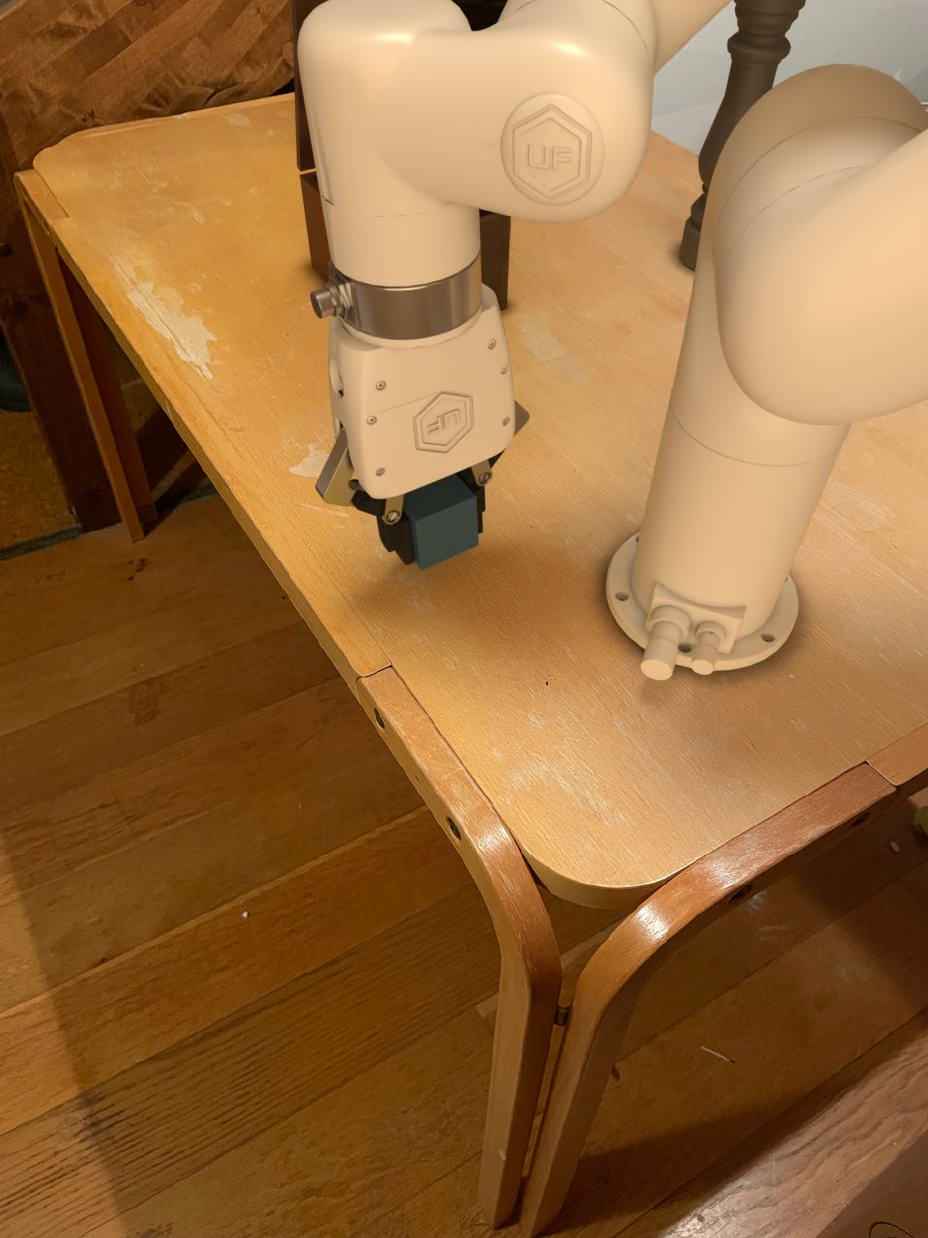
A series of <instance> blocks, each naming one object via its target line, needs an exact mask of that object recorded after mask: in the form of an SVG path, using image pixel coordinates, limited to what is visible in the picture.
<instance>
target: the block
mask: <svg viewBox="0 0 928 1238" xmlns="http://www.w3.org/2000/svg"><path fill="white" fill-rule="evenodd" d="M402 510H403V511H404V513H405V514H406V515H407V516H408V518H409V519H410V522H411V529H412V536H413V544H414V552H415V560H414V563H415V565H416V566H417V567H418V569H419V570H420V571H424V570H427V569H429V568H432V567H433V566H436V565H438V564H441V563H442V562H445V561H447V560H449V559H451V558H454V557H456V556H458V555H460V554H463V553H464V552H468V551H469V550H471V549H473V548H476V547H479V545H480V543H479V542H480V541H479V534H478V518H477V497H476V495H475V494H474V493H473V492H472V491H471V490H470V489H469V488H468V486H467V485H466V484H465V483H464V482H463V481H462V480H461V479H460V477H459V476H458V475H457V474H456V473H454V474H451V475H449V476H447V477H444V478H442V479H439V480H437V481H434V482H432V483H429V484H427V485H424V486H422V487H420V488H417V489H415V490H412V491H410V492H407V493H405V494H404V502H403V509H402Z"/></svg>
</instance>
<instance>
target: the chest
mask: <svg viewBox="0 0 928 1238" xmlns="http://www.w3.org/2000/svg"><path fill="white" fill-rule="evenodd" d="M299 182H300V189H301V197H302V203H303V210H304V211H303V212H304V218H305V226H306V227H305V228H306V233H307V234H306V235H307V240H308V247H309V256H310V264H311V268H312V269H313V270H314V271H315V272H316V273H317V274H318V275H319V277H320V278H321V279H322V281H324V282H325V284H327V283H328V281H329V276H330V275H329V269H328V262H329V261H331V256H330V250H329V244H328V238H327V232H326V226H325V220H324V214H323V209H322V203H321V197H320V191H319V185H318V179H317V173H316V170H312V171H309V172H305V173H301V174H299ZM479 222H480V246H481V275H482V283H483V284H484V285H486V286H488V287H489V288H490V289H492V290H493V292H494V293H495V294H496V297H497V301H498V304H499V308H500V311H503V310H506V309H508V291H509V268H510V248H511V247H510V245H511V228H512V226H511V225H512V223H511V222H512V217H510V216H506V215H502V214H498V213H495V212H491V211H487V210H483V209H479Z"/></svg>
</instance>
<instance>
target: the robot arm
mask: <svg viewBox="0 0 928 1238" xmlns="http://www.w3.org/2000/svg"><path fill="white" fill-rule="evenodd" d="M732 1H733V0H507V1H506V3H505V5H504V7H503V10H502V11H501V13H500V16H499V18H498V20H497V22H496V23H495V24H492V25H491V26H489V27H487V28H484V29H481V30H472V29H471V26H470V23H469V20H468V18H467V17H466V15H465V14H464V12H463V11H462V9H461V7H460V6H459V5H458V4H456V3H455V2H454V1H453V0H328V1H326V2H324V3H322V4H321V5H319V6H318V7H316V8H315V9H314V10H313V11H312V12H311V13H310V14H309V15H308V17H307V18H306V19H305V20H304V22H303V25H302V27H301V30H300V33H299V38H298V44H297V55H298V63H299V71H300V79H301V85H302V90H303V96H304V102H305V108H306V114H307V120H308V126H309V132H310V138H311V144H312V149H313V155H314V161H315V167H316V168H315V171H316V173H317V179H318V185H319V191H320V197H321V203H322V209H323V214H324V220H325V226H326V232H327V238H328V244H329V250H330V256H331V261H329V262H328V269H329V275H330V276H329V281H328V283H324V284H323V285H322V287H321V288H319V289H316V290H312V291H310V293H309V299H310V303H311V307H312V309H313V312H314V313H315V316H316V317H317V318H318V319H320V320H321V319H324V318H327V317H330V321H329V328H328V329H329V331H328V345H327V346H328V349H327V350H328V351H327V352H328V353H327V359H328V363H327V366H328V367H327V368H328V369H327V370H328V371H327V372H328V388H329V389H328V391H329V400H330V409H331V416H332V417H331V419H332V426H333V433H334V438H335V443H334V445H333V447H332V448H331V451H330V453H329V455H328V457H327V460H326V462H325V463H324V465H323V468H322V470H321V472H320V474H319V476H318V478H317V481H316V482H315V485H314V488H315V491H316V492H317V494H318V495H319V496H320V498H321V499H322V501H323V502H324V503H325V504H329V505H335V506H339V507H340V506H341V507H347V508H348V507H353V508H355V509H356V510H357V511H359V512H362V513H366V514H368V515H371V516H374V517H375V518H376V523H377V530H378V536H379V539H380V542H381V544H382V546H383V547H384V549H385V550H386V551H387V553H389V554H390V553H392V552H395V553H396V555H397V557H399V559H400V560H401V562H402V563H403V564H404V565H405V567H407V566H410V565H412V564H414V563H415V562H414V560H415V552H414V544H413V536H412V529H411V522H410V519H409V518H408V516H407V515H406V514H405V513H404V511H403V510H402V509H403V502H404V494H405V493H407V492H410V491H412V490H415V489H417V488H420V487H422V486H424V485H427V484H429V483H432V482H434V481H437V480H439V479H442V478H444V477H447V476H449V475H451V474H454V473H456V474H457V475H458V476H459V477H460V479H461V480H462V481H463V482H464V483H465V484H466V485H467V486H468V488H469V489H470V490H471V491H472V492H473V493H474V494H475V495H476V497H477V518H478V535H480V534H482V533H484V521H483V518H484V517H483V513H485V512H486V510H487V508H486V485H488V484H489V483H490V482H491V481H492V479H493V476H494V475H493V471H492V469H493V468H494V466H495V464H496V463H497V462H498V460H499V459H500V458H501V456H502V455H503V454H504V452H505V451H506V449H507V448H508V447H509V446H510V445H511V444H512V442H513V440H514V438H515V436H516V435H517V434H518V433H519V432H520V431H521V430H522V429H523V427H524V426H525V425H526V424H528V422H529V420H530V418H531V417H530V413H529V412H528V410H526V409H525V408H524V406H522V405H521V403H519V402H518V401H517V400H516V399H515V390H514V380H513V379H514V378H513V371H512V363H511V355H510V350H509V349H510V348H509V345H508V339H507V334H506V329H505V325H504V321H503V315H502V313H501V310H500V308H499V304H498V301H497V297H496V294H495V293H494V292H493V290H492V289H490V288H489V287H488V286H486V285H484V284H483V283H482V275H481V246H480V222H479V209H483V210H487V211H491V212H495V213H498V214H502V215H506V216H510V217H511V218H515V219H520V220H525V221H529V222H536V223H544V224H569V223H575V222H580V221H584V220H588V219H591V218H593V217H595V216H598V215H600V214H602V213H603V212H605V211H606V210H608V209H610V208H611V207H613V206H614V205H615V204H616V203H617V202H618V201H620V200H621V198H623V196H625V194H626V193H627V192H628V190H630V188H631V187H632V185H633V184H634V182H635V180H637V179H636V178H637V177H638V175H639V174H640V171H641V169H642V166H643V164H644V162H645V159H646V154H647V151H648V147H649V143H650V137H651V130H652V118H653V103H654V87H655V76H656V75H657V74H658V73H659V72H660V71H661V70H662V68H663V67H664V66H666V64H667V63H668V62H670V61H671V59H673V58H674V56H675V55H677V54H678V53H679V52H680V51H681V50H682V49H683V48H684V47H685V46H686V45H687V44H688V43H689V42H690V41H691V40H692V39H693V38H694V37H695V36H696V35H697V34H698V33H699V32H700V31H701V30H702V29H704V28H705V27H706V26H707V25H708V24H709V23H710V22H711V21H712V20H713V19H714V18H715V17H716V16H717V15H719V13H720V12H722V11H723V10H724V9H725V8H726V7H728V5H729V4H731V2H732ZM693 276H694V277H693V281H692V286H691V287H692V288H691V294H690V300H689V303H688V304H689V305H688V311H687V316H686V321H685V326H684V332H683V336H682V342H681V346H680V350H679V355H678V360H677V364H676V370H675V374H674V378H673V383H672V388H671V391H670V396H669V400H668V405H667V409H666V414H665V418H664V424H663V426H662V431H661V436H660V440H659V445H658V450H657V455H656V459H655V463H654V468H653V471H652V472H653V473H652V478H651V482H650V487H649V490H648V494H647V495H648V496H647V500H646V505H645V508H644V513H643V518H642V522H641V527H640V530H639V531H638V532H636V533H635V534H633V535H631V536H629V538H628V539H626V540H625V541H624V542H623V543H622V544H621V545H620V546H619V547H618V548H617V550H616V551H615V553H614V554H613V556H612V558H611V560H610V562H609V565H608V568H607V572H606V573H607V574H606V579H605V598H606V601H607V605H608V608H609V611H610V612H611V614H612V616H613V618H614V619H615V622H616V624H617V625H618V626H619V627H620V628H621V630H622V631H623V632H624V633H625V635H626V636H627V637H628V638H630V639H631V640H632V641H633V642H634V643H636V644H637V645H638V646H639V647H640V648H642V649H643V650H644V654H643V656H642V660H641V664H640V666H639V668H640V670H641V673H642V674H643V675H644V676H646V677H647V678H649V679H652V680H655V681H665V680H668V679H670V678H671V676H673V673H674V671H675V670H674V669H675V666H676V665H677V666H681V667H686V668H688V669H692V671H693V672H695V673H697V674H698V675H703V676H706V675H710V674H712V673H713V672H714V671H715V672H717V671H732V670H733V671H734V670H737V669H743V668H747V667H750V666H753V665H755V664H758V663H760V662H762V661H764V660H766V659H768V658H769V657H770V656H772V655H773V654H774V653H776V652H777V651H779V649H780V648H781V647H782V646H783V645H784V644H785V643H786V642H787V640H788V638H789V636H790V634H791V633H792V631H793V628H794V626H795V624H796V621H797V618H798V615H799V601H800V600H799V595H798V590H797V586H796V584H795V582H794V579H793V577H792V575H791V573H790V570H791V568H792V566H793V563H794V561H795V559H796V556H797V554H798V551H799V549H800V547H801V545H802V542H803V540H804V538H805V535H806V532H807V530H808V528H809V526H810V523H811V521H812V519H813V516H814V513H815V511H816V509H817V507H818V504H819V502H820V500H821V497H822V495H823V492H824V490H825V488H826V485H827V482H828V480H829V478H830V475H831V473H832V471H833V468H834V466H835V464H836V462H837V459H838V457H839V455H840V452H841V449H842V448H843V445H844V443H845V441H846V440H847V438H848V435H849V433H850V432H851V428H852V426H853V424H855V423H860V422H864V421H869V420H872V419H876V418H881V417H883V416H886V415H887V416H888V415H890V414H893V413H896V412H899V411H901V410H903V409H907V408H909V407H912V406H915V405H917V404H919V403H922V402H925V401H926V400H928V111H927V109H926V108H925V107H924V105H923V103H922V102H921V101H920V100H919V99H918V97H917V96H916V95H915V93H913V92H912V91H910V90H909V89H908V88H907V87H906V86H905V85H904V84H903V83H901V82H900V81H899V80H898V79H896V78H894V77H893V76H892V75H890V74H888V73H886V72H883V71H882V70H879V69H877V68H874V67H870V66H868V65H867V66H866V65H861V64H853V63H830V64H824V65H819V66H816V67H812V68H810V69H805V70H802V71H800V72H798V73H796V74H794V75H792V76H789V77H788V78H786V79H784V80H783V81H781V82H779V83H778V84H776V85H775V86H773V87H772V89H771V90H769V91H768V92H767V93H765V94H764V95H763V96H762V97H761V98H760V99H759V100H758V101H757V102H756V103H755V104H754V105H753V106H752V107H751V108H750V109H749V110H748V111H747V112H746V114H745V115H744V116H743V117H742V118H741V120H740V121H739V123H738V124H737V125H736V127H735V128H734V130H733V131H732V133H731V135H730V137H729V138H728V140H727V142H726V144H725V146H724V148H723V150H722V152H721V154H720V156H719V159H718V162H717V164H716V167H715V170H714V173H713V176H712V180H711V184H710V187H709V191H708V196H707V201H706V206H705V212H704V217H703V223H702V229H701V236H700V243H699V249H698V256H697V263H696V269H695V271H694V275H693ZM354 474H355V476H356V478H352V477H353V475H354Z"/></svg>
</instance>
